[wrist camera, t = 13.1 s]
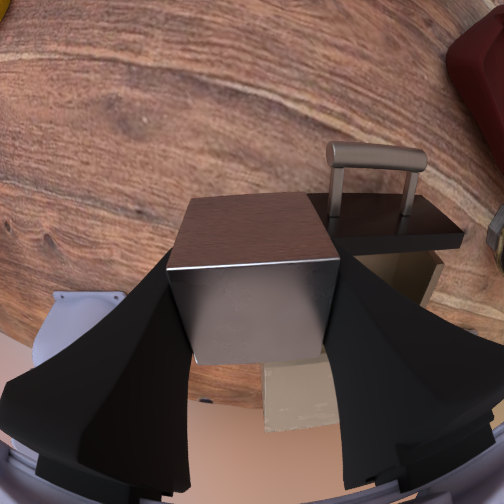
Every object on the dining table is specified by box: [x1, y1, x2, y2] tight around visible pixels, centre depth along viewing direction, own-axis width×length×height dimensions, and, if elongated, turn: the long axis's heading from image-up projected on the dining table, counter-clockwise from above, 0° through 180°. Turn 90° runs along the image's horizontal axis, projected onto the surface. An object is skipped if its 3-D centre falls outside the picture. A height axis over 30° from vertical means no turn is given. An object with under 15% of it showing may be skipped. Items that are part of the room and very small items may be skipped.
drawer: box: [306, 141, 465, 354], centre depth 18 cm, size 19×12×6 cm, turn 2°
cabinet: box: [261, 353, 340, 432], centre depth 26 cm, size 16×14×8 cm
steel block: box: [166, 192, 340, 365], centre depth 9 cm, size 4×4×4 cm
